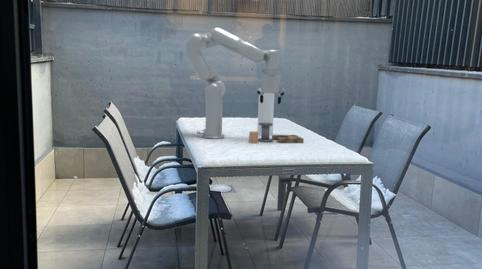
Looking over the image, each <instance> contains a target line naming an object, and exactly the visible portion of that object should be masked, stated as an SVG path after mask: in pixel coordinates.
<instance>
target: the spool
mask: <svg viewBox="0 0 482 269" xmlns="http://www.w3.org/2000/svg"><path fill="white" fill-rule="evenodd" d="M259 125H261V126H262V131H261V136H260V137H258V143H259V142H260V143H272V142H274V140H273V139H272V138H270V136H269V130H270V126H272V125H273V126H274V122H273V123H266V122H261V123H259Z"/></svg>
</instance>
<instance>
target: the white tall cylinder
mask: <svg viewBox="0 0 482 269" xmlns="http://www.w3.org/2000/svg"><path fill="white" fill-rule="evenodd" d="M259 91H260V92H262V91H261V88H260V89H259ZM257 102H258V104H257V105H258V108H257V132H258V137H259V136H260V137H261V131H262V126H261V125H259V123H261V122H266V123H273V125H272V126H270V130H269V137H272V135H274V111H275V93H264V94H263V103H261V102H260V95H259V94H258V101H257Z"/></svg>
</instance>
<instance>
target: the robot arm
mask: <svg viewBox="0 0 482 269" xmlns="http://www.w3.org/2000/svg"><path fill="white" fill-rule="evenodd" d="M218 45H219V46H221V47H222V48H223V47H224V48H225V49H228V50H229V51H231V52H232V53H234V54H238V55H240V56H242V57H244V58H246V59H248V60H250V61H252V62H253V63H258V64H262V63H264V69H263V70H262V71H261V72H262V73H263V74H262V78H261V79H262V80H261V85H259V86H257V87H255V90H256V92H257V94H258V96H259V95H260V102H261V103H263V94H264V93H274V94H276V95H277V96H278V97H277V105H280V104H281V103H282V97H283V96H284V95H285V94H286V91H287V88H285V87H284V86H281V76H280V75H279V67H280V50H278V49H267V50H265V49H262V48H259V47H257V46H254V45H253V44H251V43H249V42H247V41H245V40H243V38H241V37H240V36H237V35H236V34H234V33H231V32H229V31H227V30H226V29H223V28H221V27H218V26H216V27H215V26H214V27H213V28H211V30H210V31H208V32H205V33H200V32H195V33H192V34H191V35H190V36H189V37H188V38H187V39H186V43H185V52H186V55H187V58H188V59H189V62H190V63H191V65H192V67H193V69H194V72H195V73H196V75H197V77H198V78H199V80H200V81H202V82H204V84H205V85H206V87H205V90H204V96H205V97H204V98H205V128H203V129H202V130H199V129H198V130H197V131H196V133H197V134H199V135H202V138H203V139H214V140H218V139H219V140H221V139H224V138H225V134H223V106H224V104H223V97H224V95H225V94H226V90H227V89H226V86H225V84H224V82H223V80H222V78H221V76H220V75H219V73H218V71H217V70H216V68H215V67H214V66H213V65H210V64H209V62H208V60H207V58H206V56H205V55H204V53H203V50H206V49H209V48H211V47H216V46H218ZM260 88H261V91H262V92H260V91H259V89H260ZM281 90H282V92H281Z"/></svg>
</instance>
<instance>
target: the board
mask: <svg viewBox="0 0 482 269" xmlns="http://www.w3.org/2000/svg"><path fill="white" fill-rule="evenodd" d="M271 139H273V141H276V143H278V144H304V139H305V138H303V137H301V136H299V135H297V134H273V135H272V136H271Z"/></svg>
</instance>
